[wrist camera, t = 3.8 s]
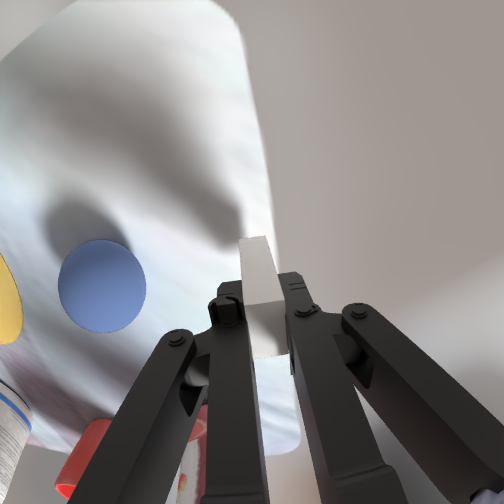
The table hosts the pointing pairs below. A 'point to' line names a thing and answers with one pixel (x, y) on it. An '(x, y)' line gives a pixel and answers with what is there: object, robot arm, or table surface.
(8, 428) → the supplement tub
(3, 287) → the disc
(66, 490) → the flower pot
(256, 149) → the table surface
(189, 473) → the liquor
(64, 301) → the ball
